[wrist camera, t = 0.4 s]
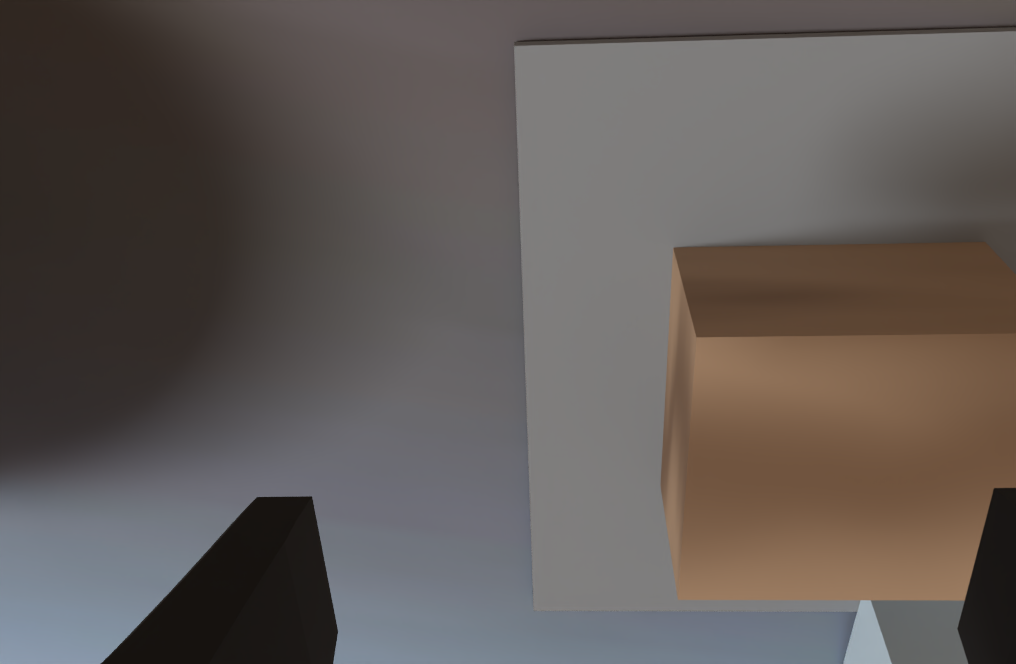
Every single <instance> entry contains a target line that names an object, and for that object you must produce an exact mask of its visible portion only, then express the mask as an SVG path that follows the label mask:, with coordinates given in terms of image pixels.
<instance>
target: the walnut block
mask: <svg viewBox="0 0 1016 664" xmlns="http://www.w3.org/2000/svg"><path fill="white" fill-rule="evenodd" d="M660 486H661V493H662V499H663V506H664V513H665V519H666V526H667V532H668V539H669V545H670V552H671V558H672V565H673V571H674V578H675V584H676V591H677V597H678V600H949V601H965V597H966V594H967V590H968V586H969V582H970V578H971V574H972V571H973V567H974V563H975V559H976V555H977V551H978V547H979V544H980V540H981V536H982V532H983V528H984V524H985V521H986V517H987V513H988V509H989V505H990V501H991V498H992V494H993V490H994V488H1016V274H1015V273H1014V272H1013V271H1012V270H1011V269H1010V268H1009V267H1008V266H1007V265H1006V264H1005V263H1004V261H1003V260H1002V259H1001V258H1000V257H999V256H998V255H997V254H996V253H995V252H994V251H993V250H992V249H991V248H990V247H989V245H988V244H987V243H986V242H953V243H897V244H841V245H784V246H728V247H673V260H672V278H671V297H670V316H669V335H668V353H667V372H666V391H665V409H664V428H663V447H662V465H661V484H660Z"/></svg>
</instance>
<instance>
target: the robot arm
mask: <svg viewBox="0 0 1016 664" xmlns="http://www.w3.org/2000/svg"><path fill="white" fill-rule="evenodd" d="M957 630H958V633H959V636H960V639H961V642H962V645H963V648H964V652H965V655H966V658H967V661H968V664H1016V488H994V490H993V494H992V498H991V501H990V505H989V509H988V513H987V517H986V521H985V524H984V528H983V532H982V536H981V540H980V544H979V547H978V551H977V555H976V559H975V563H974V567H973V571H972V574H971V578H970V582H969V586H968V590H967V594H966V597H965V601H964V605H963V609H962V613H961V617H960V620H959V624H958V628H957ZM337 634H338V629H337V624H336V619H335V614H334V609H333V603H332V598H331V593H330V588H329V583H328V577H327V572H326V567H325V562H324V557H323V551H322V546H321V541H320V536H319V531H318V526H317V520H316V515H315V510H314V505H313V500H312V497H257V498H256V499H255V500H254V501H253V502H252V503H251V504H250V505H249V506H248V507H247V508H246V509H245V510H244V511H243V512H242V513H241V514H240V515H239V517H238V518H237V519H236V520H235V521H234V522H233V523H232V524H231V525H230V526H229V528H228V529H227V530H226V531H225V532H224V533H223V534H222V535H221V536H220V538H219V539H218V540H217V541H216V542H215V543H214V544H213V545H212V546H211V548H210V549H209V550H208V551H207V552H206V553H205V554H204V555H203V556H202V558H201V559H200V560H199V561H198V562H197V563H196V564H195V565H194V566H193V567H192V569H191V570H190V571H189V572H188V573H187V574H186V575H185V576H184V577H183V578H182V580H181V581H180V582H179V583H178V584H177V585H176V586H175V587H174V588H173V589H172V590H171V592H170V593H169V594H168V595H167V596H166V597H165V598H164V599H163V600H162V601H161V602H160V603H159V604H158V605H157V606H156V607H155V608H154V609H153V611H152V612H151V613H150V614H149V615H148V616H147V617H146V618H145V619H144V620H143V621H142V622H141V623H140V624H139V625H138V626H137V627H136V628H135V629H134V631H133V632H132V633H131V634H130V635H129V636H128V637H127V638H126V639H125V640H124V641H123V642H122V643H121V644H120V645H119V646H118V647H117V648H116V649H115V650H114V651H113V652H112V653H111V654H110V655H109V656H108V657H107V658H106V659H105V660H104V661H103V662H102V663H101V664H333V660H334V654H335V647H336V641H337Z"/></svg>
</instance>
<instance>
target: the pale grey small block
mask: <svg viewBox="0 0 1016 664" xmlns="http://www.w3.org/2000/svg"><path fill="white" fill-rule="evenodd" d="M963 605H964V601H949V600H861V601H860V604H859V608H858V612H857V615H856V619H855V622H854V626H853V630H852V633H851V637H850V641H849V644H848V648H847V652H846V655H845V659H844V662H843V664H968V661H967V658H966V655H965V652H964V648H963V645H962V642H961V639H960V636H959V633H958V630H957V628H958V624H959V620H960V617H961V613H962V609H963Z"/></svg>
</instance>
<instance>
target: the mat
mask: <svg viewBox="0 0 1016 664" xmlns="http://www.w3.org/2000/svg"><path fill="white" fill-rule="evenodd" d="M514 59H515V87H516V116H517V145H518V174H519V202H520V231H521V260H522V289H523V317H524V346H525V375H526V404H527V432H528V461H529V490H530V519H531V547H532V576H533V605H534V611H764V612H858V608H859V604H860V601H861V600H678V597H677V591H676V584H675V578H674V571H673V565H672V558H671V552H670V545H669V539H668V532H667V526H666V519H665V513H664V506H663V499H662V493H661V486H660V484H661V465H662V447H663V428H664V409H665V391H666V372H667V353H668V335H669V316H670V297H671V278H672V260H673V247H728V246H784V245H841V244H897V243H953V242H986V243H987V244H988V245H989V247H990V248H991V249H992V250H993V251H994V252H995V253H996V254H997V255H998V256H999V257H1000V258H1001V259H1002V260H1003V261H1004V263H1005V264H1006V265H1007V266H1008V267H1009V268H1010V269H1011V270H1012V271H1013V272H1014V273H1015V274H1016V27H1002V28H968V29H934V30H901V31H867V32H833V33H799V34H766V35H732V36H698V37H665V38H631V39H597V40H563V41H530V42H515V43H514Z"/></svg>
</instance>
